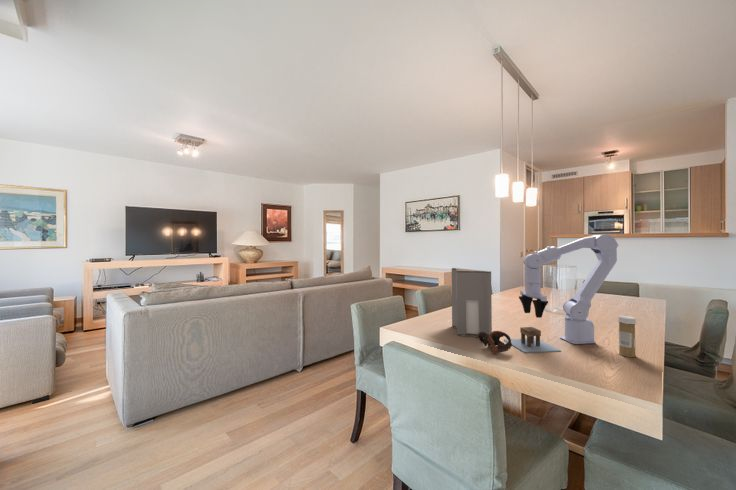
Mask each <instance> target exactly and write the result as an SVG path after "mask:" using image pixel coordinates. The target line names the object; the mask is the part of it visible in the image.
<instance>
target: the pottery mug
mask: <svg viewBox="0 0 736 490" xmlns="http://www.w3.org/2000/svg"><path fill="white" fill-rule="evenodd" d="M502 337H505V339H508V343H507V342H506V343H505V342H503V341H501V340H500V339H501V338H502ZM477 338H478V339H479V342H481V343H482V344H483V346H484V347H486V348H487V347H488V348H489V347H492V348H491V350H490V351H491V354H493V355H497V354H499V353H505V352H508V351H509V350H510V349H511V347H513V346H512V343H511V339H512V338H511V337H510V336H509V334H508V333H506V332H504V331H500V330H492V332H491V333H490V334H487V333H485V332H480V333H479V335H478V337H477Z"/></svg>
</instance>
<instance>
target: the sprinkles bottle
mask: <svg viewBox="0 0 736 490" xmlns="http://www.w3.org/2000/svg"><path fill="white" fill-rule="evenodd" d="M636 320H637V319H636V318H635V317H634V316H629V315H628V316H627V315H619V316H618V345H619V347H618V349H619V351H618V352H619V355H621V356H623V357H627V358H636V356H637V354H636V346H637V345H636V322H637V321H636Z"/></svg>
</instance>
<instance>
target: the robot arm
mask: <svg viewBox="0 0 736 490" xmlns="http://www.w3.org/2000/svg"><path fill="white" fill-rule="evenodd" d="M618 247H619V244H618V241H617V240H616V238H615V237H614V236H613V235H611V234H608V233H607V234H606V233H604V234H593V235H591V236H590V235H589V236H585V237H581V238H579V239H576V240H574V241H572V242H568V243H567V244H564V245H561V246H558V247H557V246H553V245H552V246H551V245H549V246H546V247H545V248H544V249H541V250H539V251H537V250H535V251H534V253H528V254H527V255H525V256H524V259H523V264H524V265H525V267H524V270H525V271H524V289H522V290H520V294H519V296H518V299H519V300H520V303H521V305H522V309H523V312H524V314H530V313H531V312H532V311H531V309H532V305H533V307H534V312H535V313H534V314H535V318H536V319H537V318H538V319H539V318H542V317H543V314H544V311H545V309H546V306H547V305H548V304H549V301H548V300H547V299H548V298H547V297H548V296H547V295H544V294H543V293H542V291H541V288H542V287H541V284H542V281H541V280H542V279H541V266H542V265H546V264H549V263H552V262H555V261H558V260H560V258H561V257H562V255H565V254H569V253H573V252H574V251H578V250H581V249H590V250H591V251H593V252H594V254H595V256H596V258H597V261H596V262H595V264H594V266H593V268H592V269H591V270H590V272H589V274H588V275H587V276H586V278H585V279H584V282H583V283H582V284H581V286H579V287H580V288H579V289H578V291H577V292H576V293H575V294H573V295H572V296H571V297H570V298H569V299H568V300H567V301H565V302H564V303H563V305H562V309H563V312H564V313H565V315H564V336H559V338H560V339H562V340H564V341H566V342H568V343H570V344H573V345H580V344H581V345H582V344H583V345H584V344H586V345H587V344H596V343H597V341H595V325H594V323H593V321H592V320H591V319H589V318H588V316H589V312H590V308H591V307H592V299H593V298H594V296H595V294H596V293H598V290H599V289H600V288H601V286H602V284H603V283H604V282H605V280H606V278H607V277H608V275H609V274H610V272H611V271H612V269H613V268H614V266H615V265H616V263H617V260H618V258H617V257H618V252H617V251H618V250H617V248H618Z"/></svg>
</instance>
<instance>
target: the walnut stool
mask: <svg viewBox="0 0 736 490" xmlns="http://www.w3.org/2000/svg"><path fill="white" fill-rule="evenodd" d="M519 332H520V336H521V337H520V339H521V343H523V344H525V338H527V346H528V347H531V343H534V338H536V346H540V340H541V336H542V331H541V330H540V329H538V328H536V327H533V326H525V327H524V326H523V327H522V326H521V327H520V330H519Z"/></svg>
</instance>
